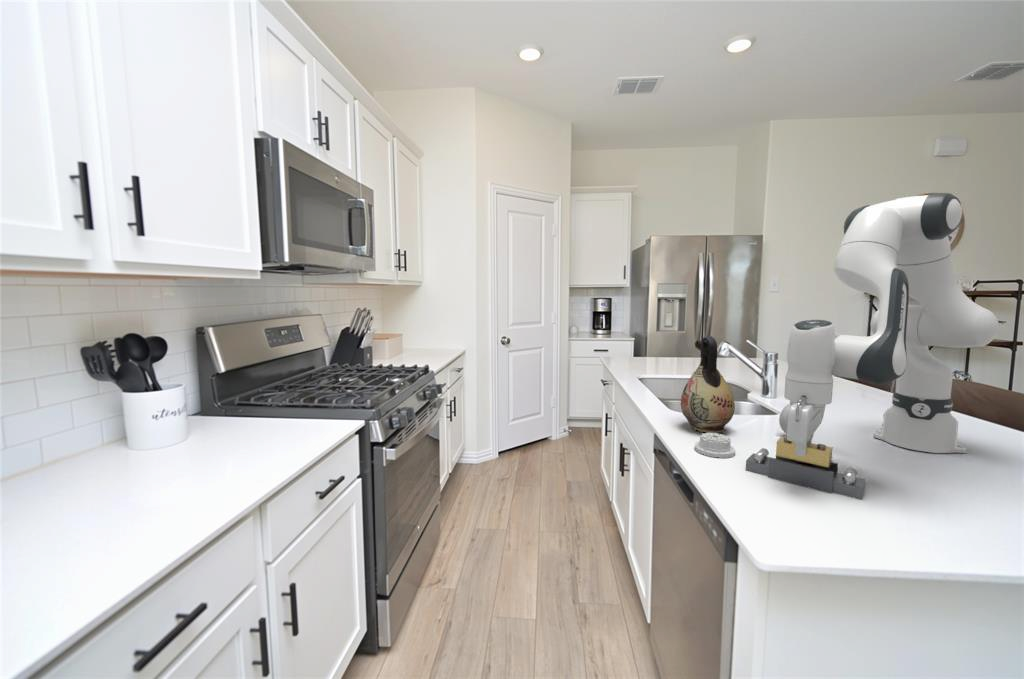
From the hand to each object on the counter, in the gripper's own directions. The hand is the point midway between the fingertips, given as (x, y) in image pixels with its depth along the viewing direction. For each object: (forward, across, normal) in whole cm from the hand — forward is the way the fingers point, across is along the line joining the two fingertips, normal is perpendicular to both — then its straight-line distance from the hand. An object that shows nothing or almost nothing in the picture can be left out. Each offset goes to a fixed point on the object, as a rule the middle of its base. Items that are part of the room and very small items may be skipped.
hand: (803, 451), depth 97 cm
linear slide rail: (+7, 0, 0) cm, 7 cm away
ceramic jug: (+7, +22, +29) cm, 37 cm away
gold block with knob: (+2, 0, 0) cm, 2 cm away
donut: (+7, +34, +8) cm, 36 cm away
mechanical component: (+7, +5, +21) cm, 22 cm away
